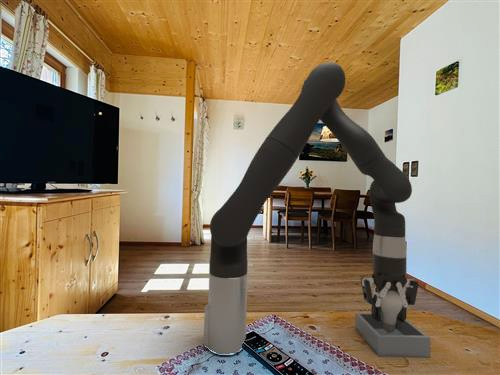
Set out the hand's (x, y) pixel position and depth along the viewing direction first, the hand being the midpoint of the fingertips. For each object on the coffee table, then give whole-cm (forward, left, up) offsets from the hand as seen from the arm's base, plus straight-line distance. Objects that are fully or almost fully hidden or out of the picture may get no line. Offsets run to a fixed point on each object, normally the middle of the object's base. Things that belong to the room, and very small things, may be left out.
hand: (388, 320), depth 63 cm
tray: (0, 0, -5) cm, 5 cm away
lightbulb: (0, 0, -3) cm, 3 cm away
